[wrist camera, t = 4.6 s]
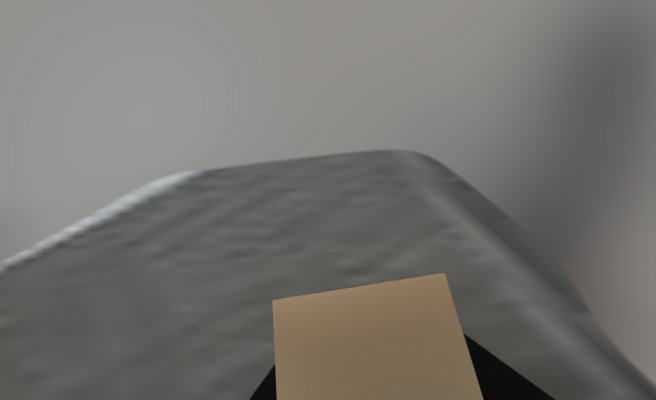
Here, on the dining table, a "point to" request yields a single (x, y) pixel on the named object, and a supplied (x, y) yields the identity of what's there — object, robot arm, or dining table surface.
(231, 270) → the dining table surface
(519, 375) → the robot arm
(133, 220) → the dining table surface
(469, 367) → the tan rectangular block
